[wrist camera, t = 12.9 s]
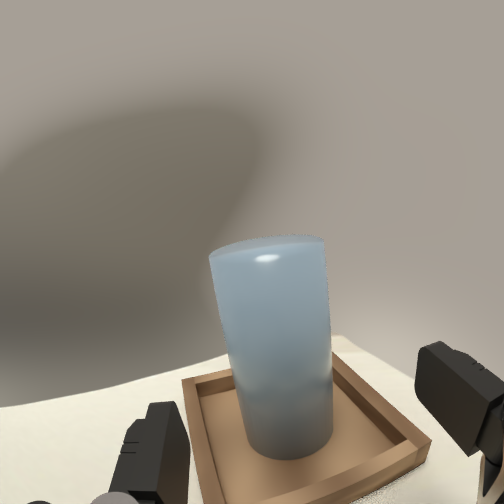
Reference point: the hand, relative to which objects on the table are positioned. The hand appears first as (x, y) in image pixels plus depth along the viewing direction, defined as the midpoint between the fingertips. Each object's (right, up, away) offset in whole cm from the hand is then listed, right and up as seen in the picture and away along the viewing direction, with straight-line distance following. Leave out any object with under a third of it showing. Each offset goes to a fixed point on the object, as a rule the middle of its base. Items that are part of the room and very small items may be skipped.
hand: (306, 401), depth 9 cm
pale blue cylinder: (+1, -7, +9) cm, 11 cm away
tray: (+1, -7, +9) cm, 12 cm away
